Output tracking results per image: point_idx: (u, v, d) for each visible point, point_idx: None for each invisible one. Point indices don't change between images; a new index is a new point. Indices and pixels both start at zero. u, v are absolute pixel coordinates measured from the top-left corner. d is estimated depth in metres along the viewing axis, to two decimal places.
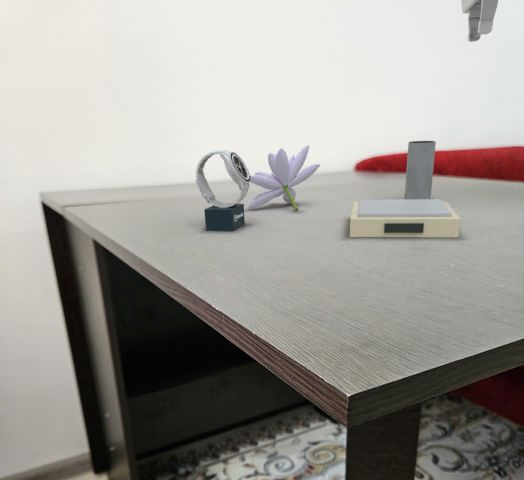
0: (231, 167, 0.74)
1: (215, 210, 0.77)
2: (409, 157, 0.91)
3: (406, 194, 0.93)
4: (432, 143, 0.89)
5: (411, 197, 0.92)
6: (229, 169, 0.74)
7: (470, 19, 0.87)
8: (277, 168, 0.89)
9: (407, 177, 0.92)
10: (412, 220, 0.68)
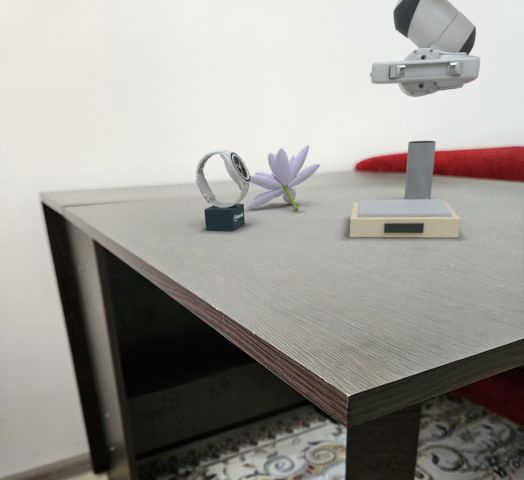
0: (231, 167, 0.74)
1: (215, 210, 0.77)
2: (409, 157, 0.91)
3: (406, 194, 0.93)
4: (432, 143, 0.89)
5: (411, 197, 0.92)
6: (229, 169, 0.74)
7: None
8: (277, 168, 0.89)
9: (407, 177, 0.92)
10: (412, 220, 0.68)
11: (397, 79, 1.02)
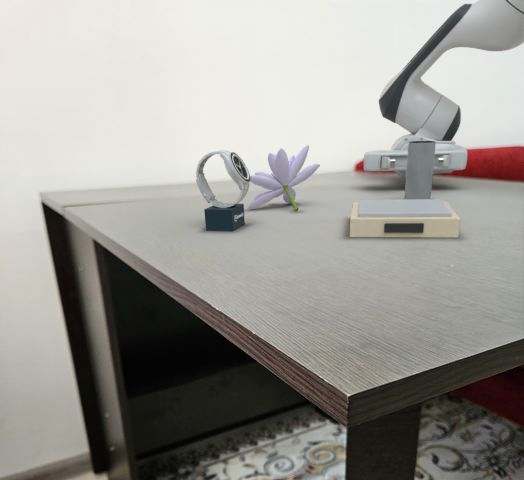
0: (231, 167, 0.74)
1: (215, 210, 0.77)
2: (409, 157, 0.91)
3: (406, 194, 0.93)
4: (432, 143, 0.89)
5: (411, 197, 0.92)
6: (229, 169, 0.74)
7: None
8: (277, 168, 0.89)
9: (407, 177, 0.92)
10: (412, 220, 0.68)
11: (388, 168, 1.06)
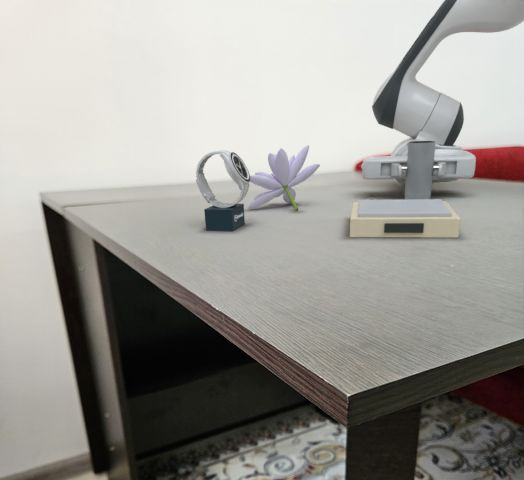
0: (231, 167, 0.74)
1: (215, 210, 0.77)
2: (409, 157, 0.91)
3: (406, 194, 0.93)
4: (432, 143, 0.89)
5: (411, 197, 0.92)
6: (229, 169, 0.74)
7: None
8: (277, 168, 0.89)
9: (407, 177, 0.92)
10: (412, 220, 0.68)
11: (389, 176, 0.97)
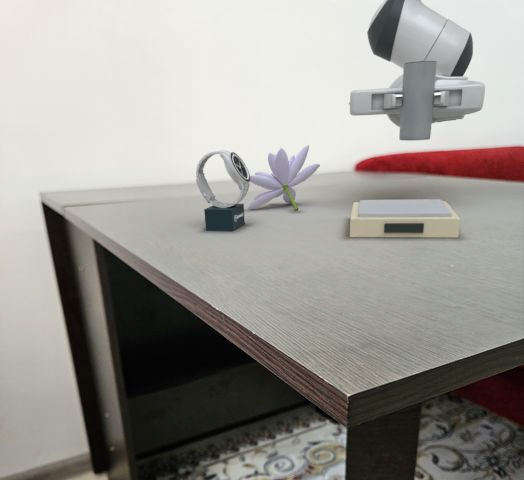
0: (231, 167, 0.74)
1: (215, 210, 0.77)
2: (405, 82, 0.75)
3: (401, 129, 0.78)
4: (432, 63, 0.73)
5: (407, 131, 0.77)
6: (229, 169, 0.74)
7: None
8: (277, 168, 0.89)
9: (402, 107, 0.77)
10: (412, 220, 0.68)
11: (381, 111, 0.82)
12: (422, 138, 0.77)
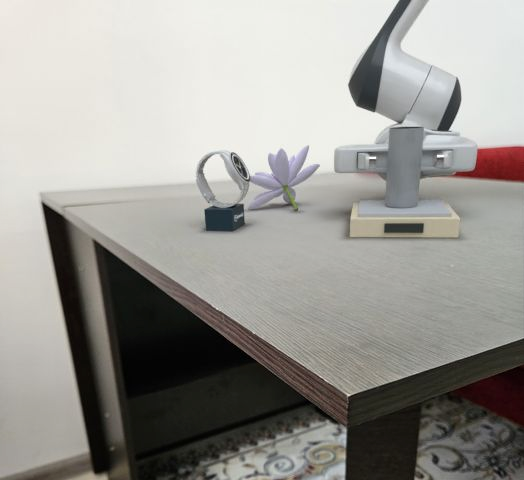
0: (231, 167, 0.74)
1: (215, 210, 0.77)
2: (390, 147, 0.71)
3: (387, 195, 0.73)
4: (419, 129, 0.69)
5: (393, 199, 0.72)
6: (229, 169, 0.74)
7: None
8: (277, 168, 0.89)
9: (388, 173, 0.72)
10: (412, 220, 0.68)
11: (367, 169, 0.77)
12: (409, 206, 0.72)
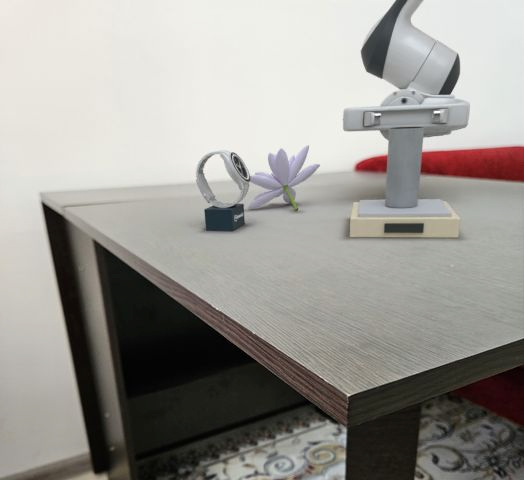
0: (231, 167, 0.74)
1: (215, 210, 0.77)
2: (390, 147, 0.71)
3: (387, 195, 0.73)
4: (419, 129, 0.69)
5: (393, 199, 0.72)
6: (229, 169, 0.74)
7: None
8: (277, 168, 0.89)
9: (388, 173, 0.72)
10: (412, 220, 0.68)
11: (373, 127, 0.87)
12: (409, 206, 0.72)
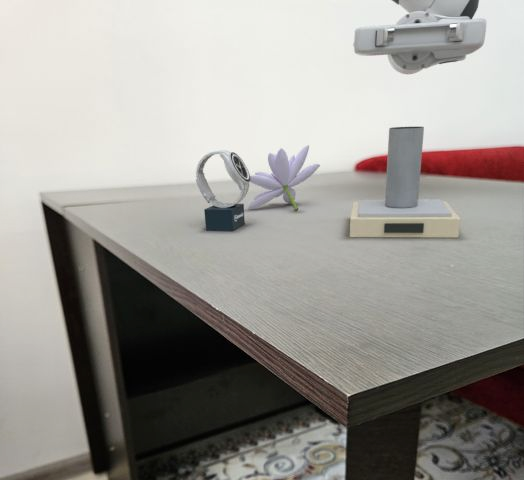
0: (231, 167, 0.74)
1: (215, 210, 0.77)
2: (390, 147, 0.71)
3: (387, 195, 0.73)
4: (419, 129, 0.69)
5: (393, 199, 0.72)
6: (229, 169, 0.74)
7: (457, 38, 0.80)
8: (277, 168, 0.89)
9: (388, 173, 0.72)
10: (412, 220, 0.68)
11: (385, 47, 0.84)
12: (409, 206, 0.72)
